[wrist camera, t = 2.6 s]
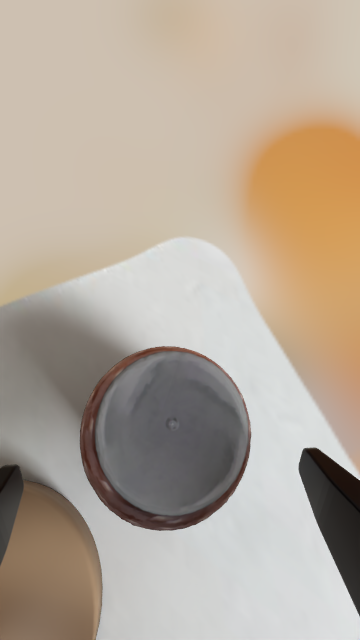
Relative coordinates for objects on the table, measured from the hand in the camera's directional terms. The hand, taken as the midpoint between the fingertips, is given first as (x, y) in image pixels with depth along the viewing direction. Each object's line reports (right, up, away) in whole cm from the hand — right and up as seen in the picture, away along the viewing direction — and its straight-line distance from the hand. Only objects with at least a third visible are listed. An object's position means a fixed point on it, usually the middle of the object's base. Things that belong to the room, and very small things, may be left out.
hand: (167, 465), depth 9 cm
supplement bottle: (-1, -2, +9) cm, 9 cm away
